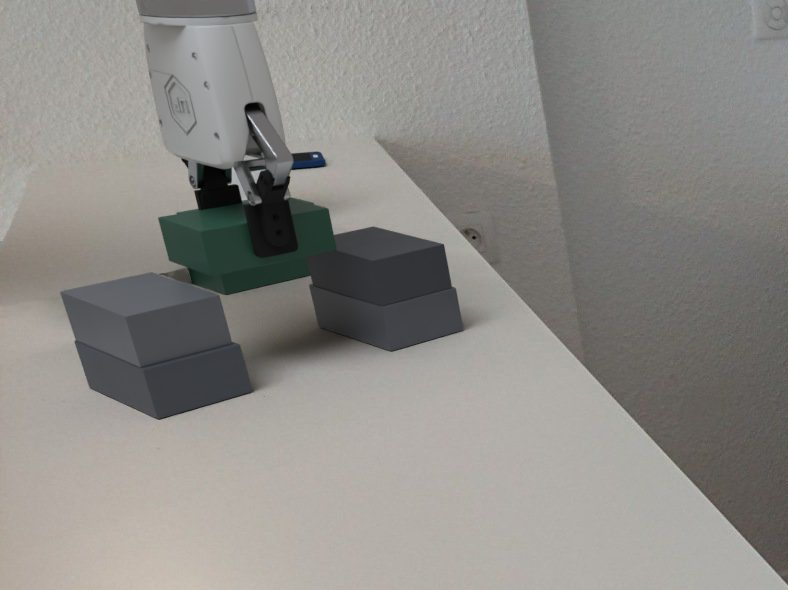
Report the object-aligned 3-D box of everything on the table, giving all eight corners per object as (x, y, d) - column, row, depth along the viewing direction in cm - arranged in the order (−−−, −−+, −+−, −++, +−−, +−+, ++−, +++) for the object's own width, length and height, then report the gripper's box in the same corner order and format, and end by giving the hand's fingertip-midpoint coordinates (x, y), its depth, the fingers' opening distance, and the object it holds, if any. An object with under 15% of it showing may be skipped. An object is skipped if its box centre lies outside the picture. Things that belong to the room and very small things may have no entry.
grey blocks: (158, 419, 93) (126, 318, 89) (89, 387, 98) (57, 291, 95) (464, 330, 111) (448, 243, 107) (390, 307, 117) (373, 224, 113)
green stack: (226, 295, 120) (207, 222, 117) (191, 283, 124) (171, 212, 121) (329, 271, 128) (314, 202, 124) (293, 260, 131) (277, 193, 128)
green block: (211, 276, 95) (200, 230, 94) (168, 261, 99) (157, 217, 97) (337, 250, 103) (328, 208, 101) (293, 237, 106) (284, 195, 104)
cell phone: (326, 165, 173) (325, 159, 173) (210, 175, 168) (209, 169, 167) (322, 156, 179) (320, 150, 179) (210, 165, 173) (208, 159, 173)
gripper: (84, -7, 94) (149, 237, 102) (203, 11, 85) (264, 276, 93) (189, -11, 99) (242, 220, 108) (311, 5, 90) (359, 255, 99)
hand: (252, 244), depth 100 cm, fingers closed on green block, 6 cm apart
